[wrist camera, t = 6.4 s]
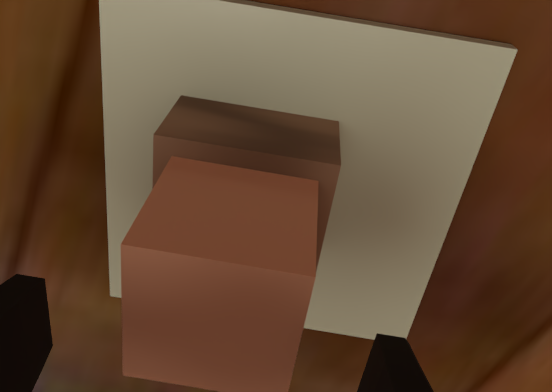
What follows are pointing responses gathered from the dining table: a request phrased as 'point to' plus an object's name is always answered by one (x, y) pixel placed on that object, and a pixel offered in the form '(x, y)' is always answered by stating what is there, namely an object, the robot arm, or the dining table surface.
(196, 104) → the walnut base brick
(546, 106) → the dining table surface
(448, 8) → the dining table surface
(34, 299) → the robot arm
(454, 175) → the plate
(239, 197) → the terracotta cube
